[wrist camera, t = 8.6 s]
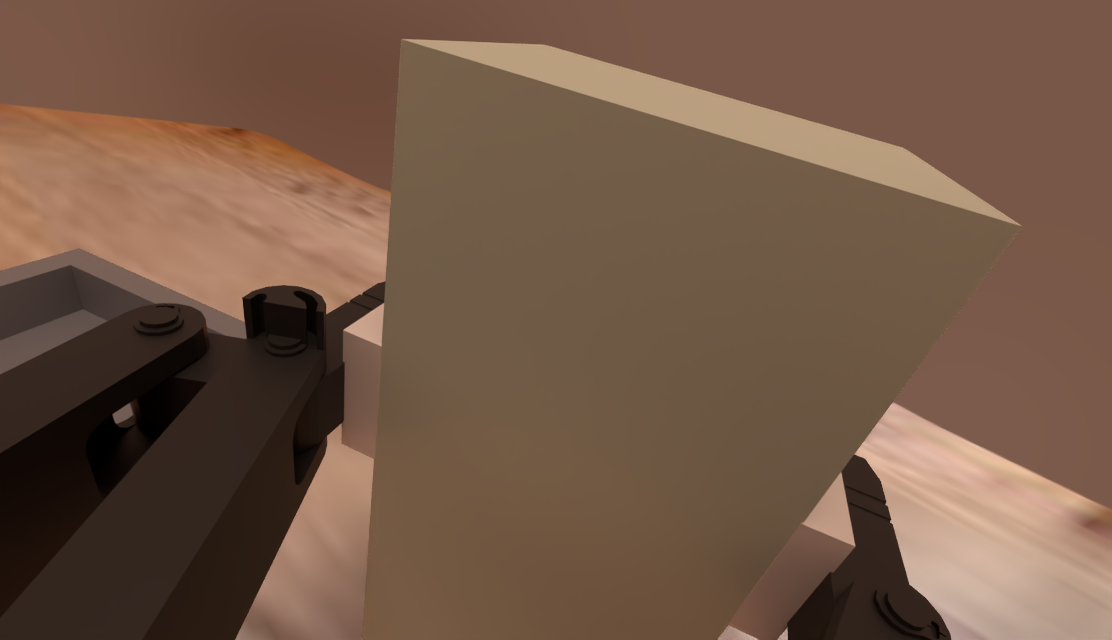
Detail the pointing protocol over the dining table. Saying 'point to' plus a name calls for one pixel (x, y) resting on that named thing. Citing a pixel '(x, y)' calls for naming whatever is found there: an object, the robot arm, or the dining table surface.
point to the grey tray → (79, 305)
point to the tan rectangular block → (631, 340)
